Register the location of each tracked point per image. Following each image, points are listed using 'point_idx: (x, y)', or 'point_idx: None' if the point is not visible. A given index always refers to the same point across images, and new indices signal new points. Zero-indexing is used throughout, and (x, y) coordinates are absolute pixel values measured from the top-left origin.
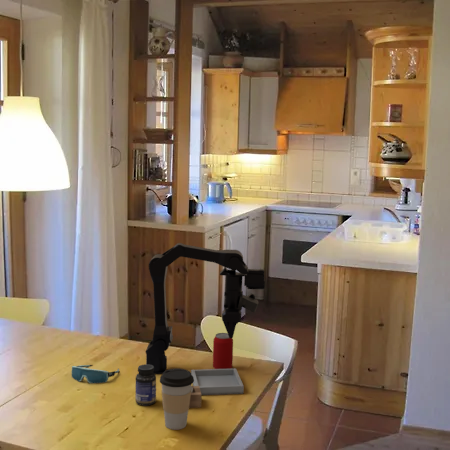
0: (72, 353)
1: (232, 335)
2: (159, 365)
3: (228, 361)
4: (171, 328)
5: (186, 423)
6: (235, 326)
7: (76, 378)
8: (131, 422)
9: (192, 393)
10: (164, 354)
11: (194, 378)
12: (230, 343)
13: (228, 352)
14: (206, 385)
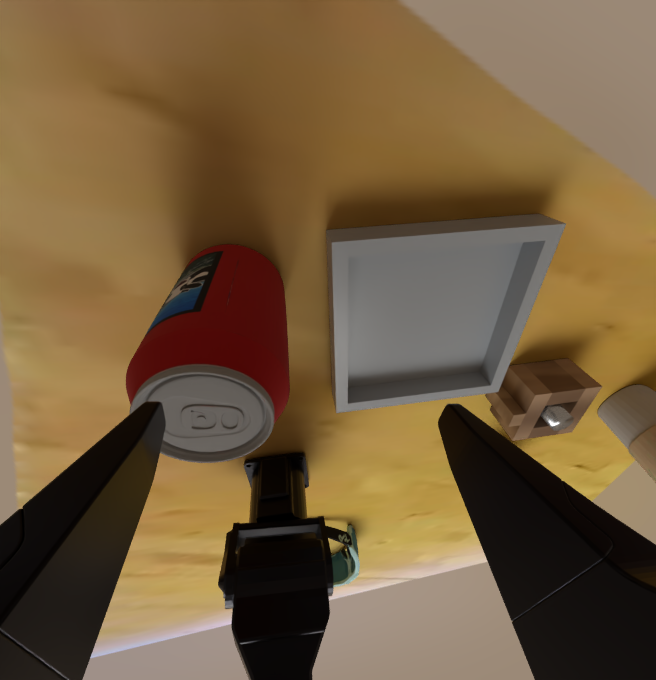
0: (182, 588)
1: (480, 426)
2: (301, 486)
3: (276, 287)
4: (281, 636)
5: (642, 386)
6: (626, 526)
7: (338, 558)
8: (559, 464)
9: (580, 407)
10: (292, 513)
11: (420, 399)
12: (266, 342)
13: (278, 317)
14: (433, 351)
